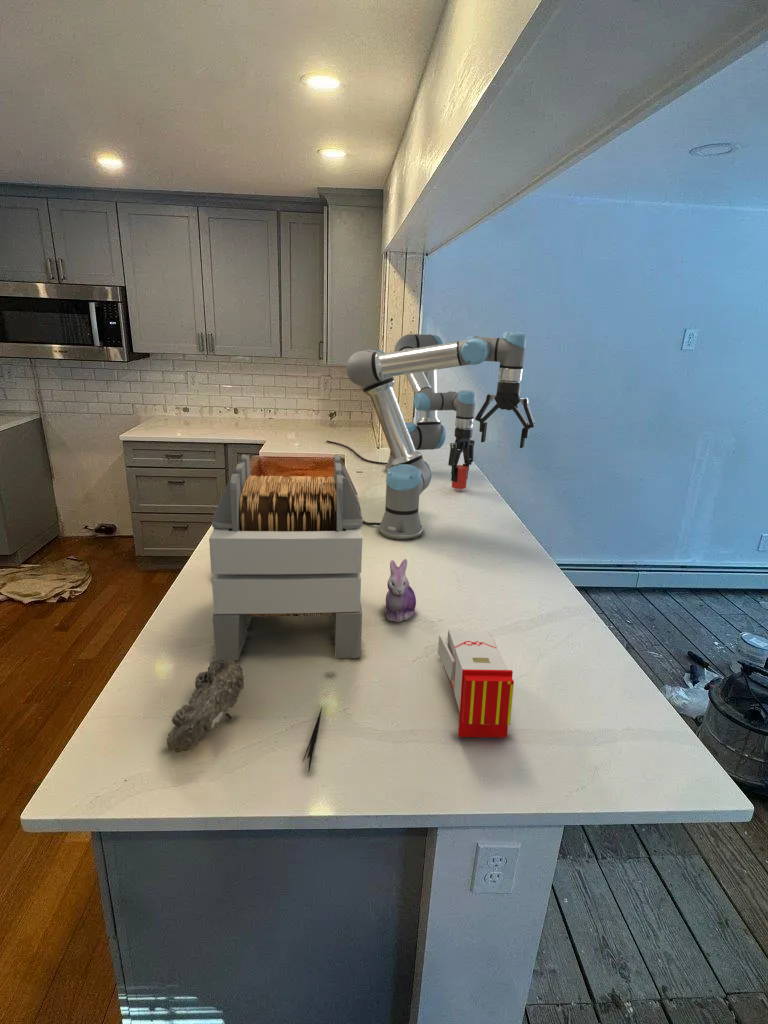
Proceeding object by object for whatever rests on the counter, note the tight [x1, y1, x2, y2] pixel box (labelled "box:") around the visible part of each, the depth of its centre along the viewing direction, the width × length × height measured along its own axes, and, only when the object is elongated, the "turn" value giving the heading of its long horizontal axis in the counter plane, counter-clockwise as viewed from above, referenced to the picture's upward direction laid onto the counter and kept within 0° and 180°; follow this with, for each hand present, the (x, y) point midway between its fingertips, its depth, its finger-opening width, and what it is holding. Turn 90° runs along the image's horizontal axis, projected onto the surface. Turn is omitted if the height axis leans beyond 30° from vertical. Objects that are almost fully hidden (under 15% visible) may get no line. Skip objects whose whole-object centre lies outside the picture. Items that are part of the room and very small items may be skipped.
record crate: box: [208, 453, 364, 661], centre depth 135 cm, size 34×33×41 cm
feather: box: [301, 673, 332, 771], centre depth 108 cm, size 2×28×2 cm
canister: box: [451, 464, 469, 490], centre depth 249 cm, size 6×6×9 cm
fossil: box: [166, 659, 245, 754], centre depth 106 cm, size 22×10×15 cm
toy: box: [437, 628, 515, 738], centre depth 117 cm, size 12×13×30 cm
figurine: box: [384, 558, 417, 623], centre depth 145 cm, size 9×10×15 cm
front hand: (502, 444), depth 194 cm, fingers open, 13 cm apart
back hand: (459, 479), depth 249 cm, fingers closed on canister, 6 cm apart
